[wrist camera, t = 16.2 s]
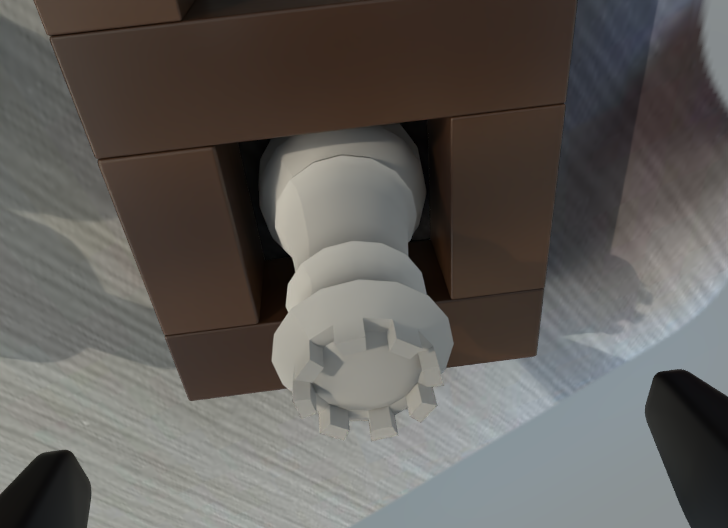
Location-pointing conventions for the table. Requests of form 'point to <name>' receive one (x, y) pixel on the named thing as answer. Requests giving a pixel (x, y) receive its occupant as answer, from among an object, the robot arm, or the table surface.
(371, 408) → the rook chess piece
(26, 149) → the table surface
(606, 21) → the table surface
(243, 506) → the table surface
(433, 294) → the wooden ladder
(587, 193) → the table surface
